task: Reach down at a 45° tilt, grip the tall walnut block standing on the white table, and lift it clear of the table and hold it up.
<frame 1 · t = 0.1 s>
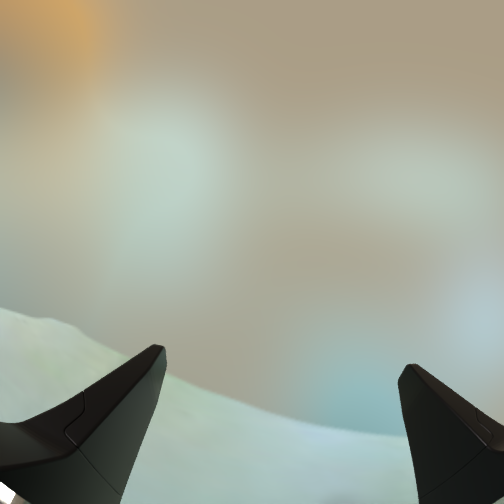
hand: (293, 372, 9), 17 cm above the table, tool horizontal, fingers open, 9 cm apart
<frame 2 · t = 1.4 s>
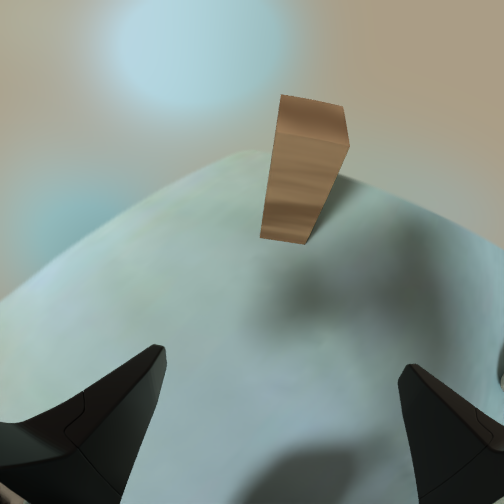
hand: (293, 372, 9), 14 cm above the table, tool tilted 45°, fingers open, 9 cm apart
walnut block: (284, 221, 27), on the table
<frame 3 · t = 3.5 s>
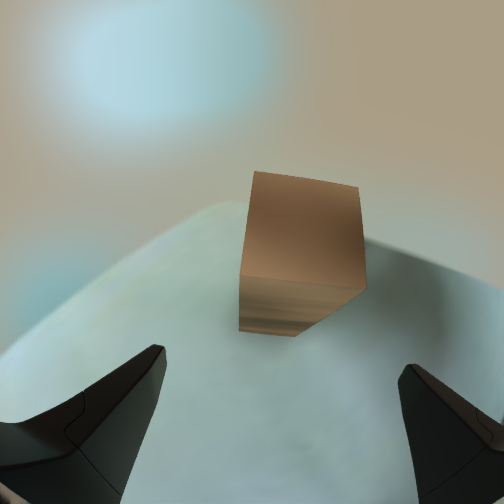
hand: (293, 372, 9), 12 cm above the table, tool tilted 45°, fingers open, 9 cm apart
walnut block: (269, 307, 22), on the table
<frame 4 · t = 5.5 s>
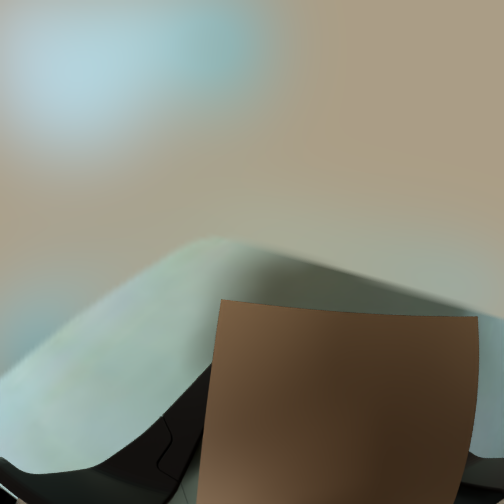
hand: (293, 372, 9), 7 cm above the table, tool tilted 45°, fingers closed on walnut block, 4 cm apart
walnut block: (268, 393, 14), on the table, touching gripper
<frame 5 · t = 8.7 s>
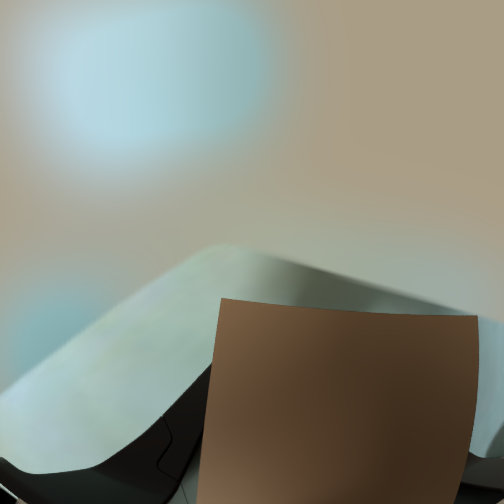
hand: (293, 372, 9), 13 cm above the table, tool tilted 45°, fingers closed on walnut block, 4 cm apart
walnut block: (268, 392, 14), point 6 cm above the table, touching gripper
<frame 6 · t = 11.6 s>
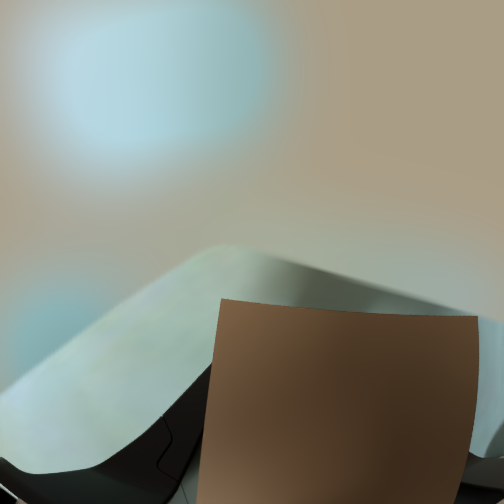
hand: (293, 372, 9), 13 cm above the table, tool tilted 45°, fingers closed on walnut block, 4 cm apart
walnut block: (268, 392, 14), point 7 cm above the table, touching gripper
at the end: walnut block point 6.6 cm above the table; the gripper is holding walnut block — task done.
